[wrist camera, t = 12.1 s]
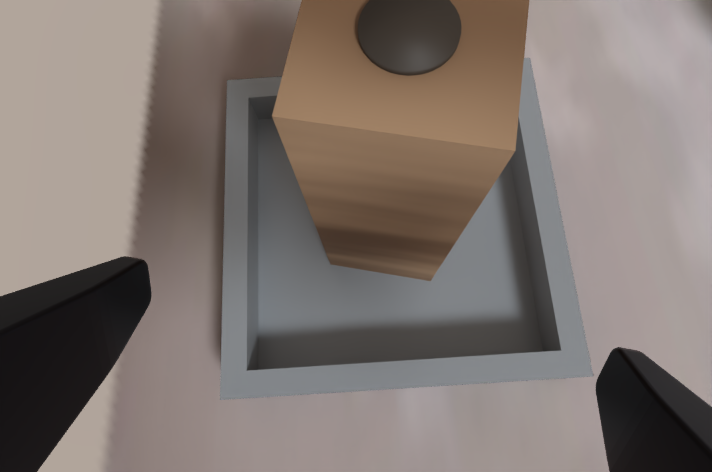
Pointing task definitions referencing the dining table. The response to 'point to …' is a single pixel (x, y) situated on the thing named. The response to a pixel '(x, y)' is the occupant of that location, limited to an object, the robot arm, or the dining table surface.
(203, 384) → the dining table surface
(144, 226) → the dining table surface
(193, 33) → the dining table surface
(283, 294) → the grey tray
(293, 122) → the walnut block
